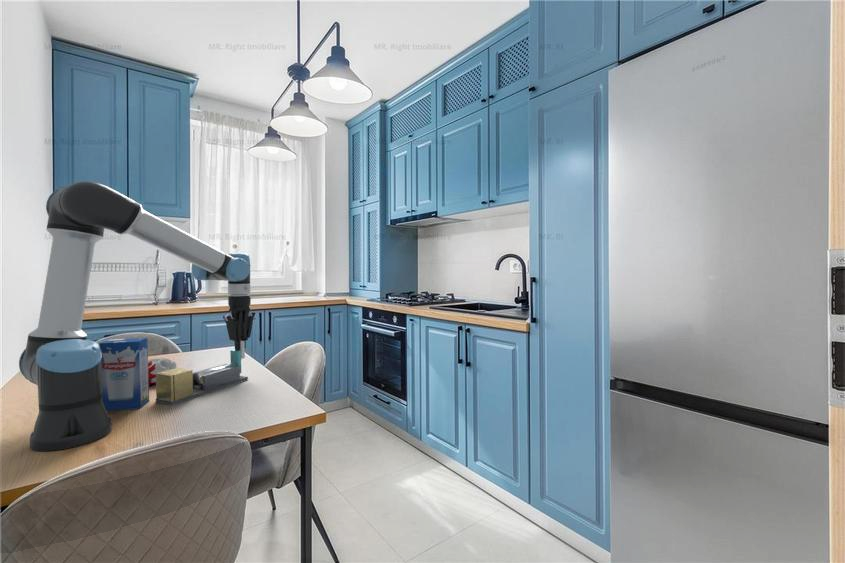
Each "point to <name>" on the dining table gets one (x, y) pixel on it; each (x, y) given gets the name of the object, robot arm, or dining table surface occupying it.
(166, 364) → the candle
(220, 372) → the guide
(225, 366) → the bolt
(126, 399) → the milk carton
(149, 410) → the dining table surface
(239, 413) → the dining table surface
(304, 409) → the dining table surface
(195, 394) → the mat
